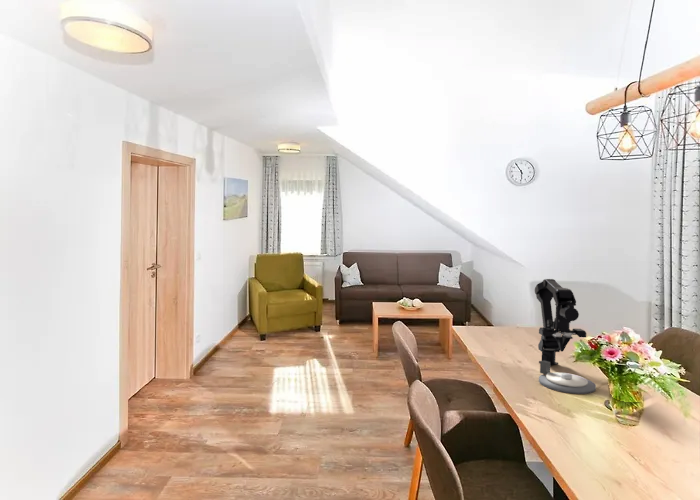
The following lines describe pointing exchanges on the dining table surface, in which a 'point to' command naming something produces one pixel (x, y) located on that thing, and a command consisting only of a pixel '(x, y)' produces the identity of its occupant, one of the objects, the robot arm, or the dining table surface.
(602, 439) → the dining table surface
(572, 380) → the dial
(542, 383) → the dial base
